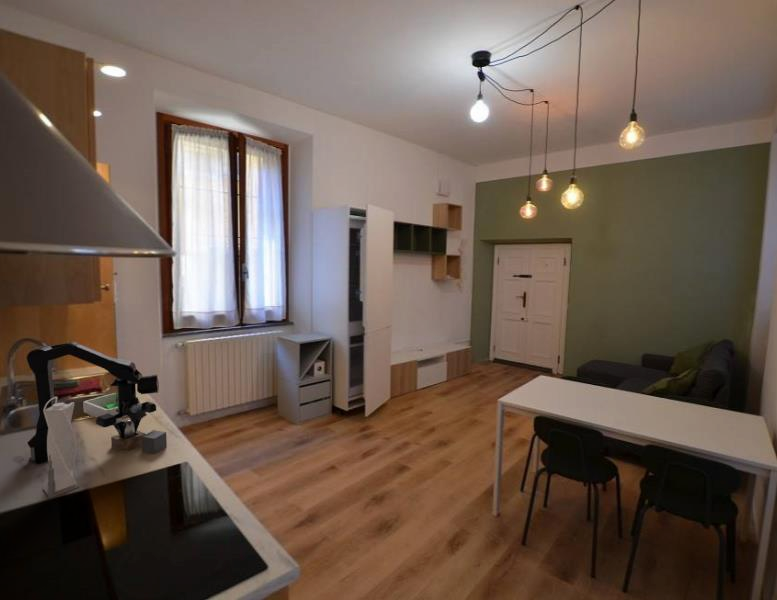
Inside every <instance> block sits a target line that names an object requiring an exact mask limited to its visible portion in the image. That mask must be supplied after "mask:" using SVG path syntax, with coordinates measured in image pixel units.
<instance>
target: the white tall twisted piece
mask: <svg viewBox="0 0 777 600" xmlns="http://www.w3.org/2000/svg"><path fill="white" fill-rule="evenodd" d="M54 398H55V404H54V405H53V406H51V407H50V408H48V409H46V406H47V404H48V403H49V402H50V401H51V400H53V399H54ZM45 409H46V410H45ZM74 409H75V402H74V401H71V402H69V403H66V402H58V396H55V397H53V398H52V399H50V400H49V401H48V402H47V403H46V405H45V407H44V409H43V412H44V415H45V419H46V422H47V425H48V435H47V454H48V461H47V462H48V469H47V470H46V471H47V480H48V482H47V486H45V487H43V491H44V493H46V496H47V497H48V498H49V499H50V498H53V497H56V496H59V495H62V494H64V492H65V493H67V492H70V491H72V490H76V489H78V488H80V487H79V484H77V481H76V480H75V479H74V476H73V475H74V472H75V465H76V458H77V441H76V435H75V431H74V428H73V426H72V424H71V422H72V418H73V413H74Z"/></svg>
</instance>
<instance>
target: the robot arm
mask: <svg viewBox="0 0 777 600" xmlns="http://www.w3.org/2000/svg"><path fill="white" fill-rule="evenodd" d="M65 356H72V357H74V358H77V359H80V360H82V361H83V362H86V363H89V364H91V365H95V366H97V367H99V368H100V369H104V370H105V371H106V372H108V373H109V374H110V375H112V376H113V377H115V379H114V380H113V381H112V382H111V383H110V387H116V389H117V391H116V392H117V394H118V398H116V401H117V402H118V409H116V412H118V414H116V415H111V414H105V415H102V416H98V417H97V418H96V419H95V425H97V426H100V427H101V428H108V427H111V426H113V427H114V428H115V430H116V432H117V433H118V434H119V435H120V437H121V438H124V430H123V424H124V423H125V422H123V418H127V417H129V418H128V419H131V420H134V424H135V433H136V431H137V430H138V428H139V426H140V424H141V423H140V422H141V421H142V419H143V418H145V417H146V416H148V415H147V413H149V414H150V413H154V412H156V411H157V405H156V403H153V402H151V401H144V402H140V403H139V397H137V393H138V394H140V395H148V394H158V393H159V392H160V391H159V390H160V389H159V387H160V382H159V377H158V374H152V375H143V374H142V373H141V372H140V371H139V370H138V369H137V366H136V363H134V362H133V361H130V360H125V359H123V358H114V357H111V356H109V355H106V354H104V353H101V352H99V351H96V350H94V349H92V348H90V347H87V346H85V345H82V344H80V343H78V342H76V341H69V342H66V343H60V344H53V345H51V346H49V345H44V344H43V345H41V346H40V345H39V346H38V347H35V348H34V349H33V350H31V351H29V352H28V353H27V355H26V361H27V364H28V367H29V369H30V371H31V372H32V374H34V381H35V386H36V396H37V404H38V406H37V407H38V411H39V412H38V413H39V416H38V419H37V422H36V428H35V433H34V435H33V436H32V437H31V438H30V439H29V441H27V445H28V447H29V448H30V456H29V458H28V461H30V462H32V463H34V464H36V465H39V464H42V463H45V462H48V454H47V435H48V425H47V422H46V419H45V415H44V412H43V409H44V407H45V405H46V403H47V402H48V401H49V400H50V399H52V398H53V397H56V396H55V391H54V390H55V389H54V380H53V372H52V371H53V367H54V363H55V360H56V359H59V358H62V357H65ZM55 400H56V398H54V399H53V400H51V401H50V402H49V403H48V404H47V406H46V409H48V408H50V407H51V406H53V405H54V404H55ZM46 409H45V410H46Z"/></svg>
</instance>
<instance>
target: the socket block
mask: <svg viewBox="0 0 777 600" xmlns="http://www.w3.org/2000/svg"><path fill="white" fill-rule="evenodd" d="M145 434H146V433H145V432H142V431H140V430H138V429H137V431H136V433H135V436H134V437H131V438H128V439H126V440H125V439H122V438H121V437H120V435H119V433H118V434H115V435H113V436H111V438H110V441H111V448H113V449H115V450H117V451H119V452H121V453H127V452H130V451H131V450H134V449H136V448H139V447H142V439H141V437H142V436H144V435H145Z"/></svg>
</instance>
